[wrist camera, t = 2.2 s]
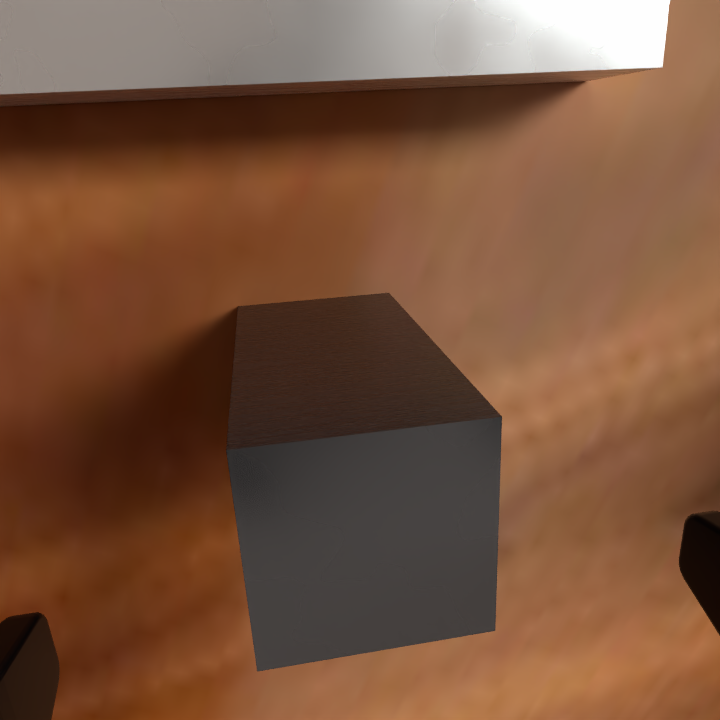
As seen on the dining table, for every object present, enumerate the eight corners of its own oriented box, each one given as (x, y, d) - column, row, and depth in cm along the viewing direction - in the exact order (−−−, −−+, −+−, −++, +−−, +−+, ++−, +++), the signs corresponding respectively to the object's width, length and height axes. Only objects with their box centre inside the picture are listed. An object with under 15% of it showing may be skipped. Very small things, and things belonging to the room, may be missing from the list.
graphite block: (389, 292, 16) (501, 416, 9) (393, 427, 18) (495, 630, 10) (238, 306, 16) (226, 450, 9) (254, 443, 17) (257, 671, 10)
